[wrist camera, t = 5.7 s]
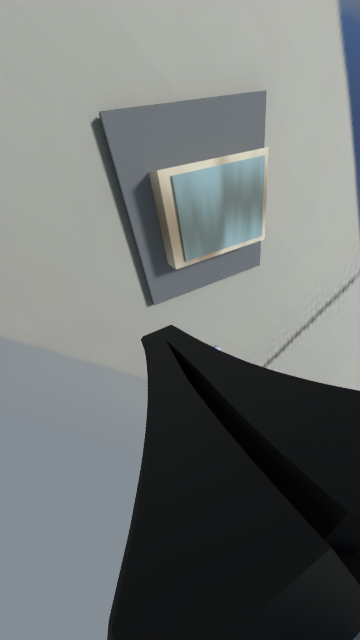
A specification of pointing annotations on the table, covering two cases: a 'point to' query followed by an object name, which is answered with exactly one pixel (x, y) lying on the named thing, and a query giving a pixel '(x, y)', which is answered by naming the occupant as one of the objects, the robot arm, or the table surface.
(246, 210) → the birch framed mirror
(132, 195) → the rubber mat
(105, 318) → the table surface
